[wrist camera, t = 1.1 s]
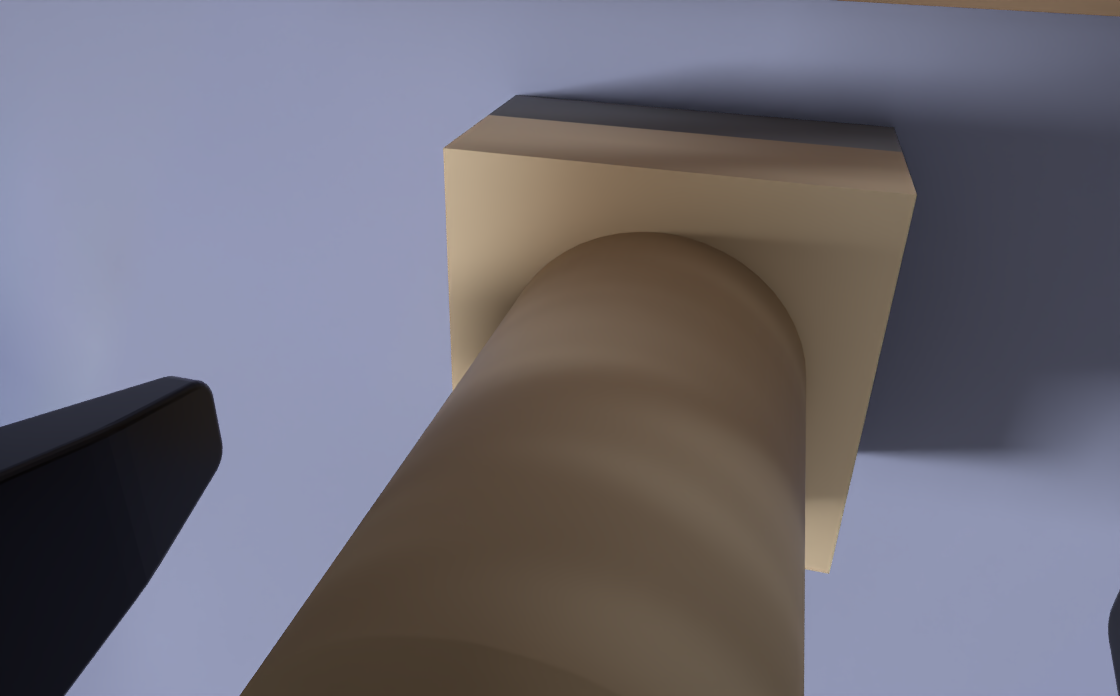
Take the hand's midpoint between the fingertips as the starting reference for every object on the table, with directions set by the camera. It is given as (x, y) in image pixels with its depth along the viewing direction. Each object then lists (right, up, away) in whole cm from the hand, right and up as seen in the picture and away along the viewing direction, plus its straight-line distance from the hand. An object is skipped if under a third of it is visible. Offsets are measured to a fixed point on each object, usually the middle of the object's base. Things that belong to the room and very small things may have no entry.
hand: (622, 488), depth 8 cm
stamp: (+1, +2, +4) cm, 5 cm away
